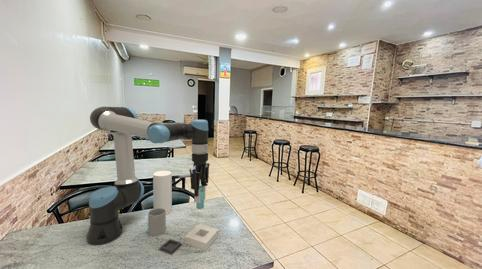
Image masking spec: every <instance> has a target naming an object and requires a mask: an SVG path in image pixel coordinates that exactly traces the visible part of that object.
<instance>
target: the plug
mask: <svg viewBox="0 0 482 269" xmlns="http://www.w3.org/2000/svg"><path fill="white" fill-rule="evenodd" d="M199 189H200V203H197V202H195V203H196V205H195V207H196V209H197V210H202V209H205V200H204V187H203V186H200V185H199Z"/></svg>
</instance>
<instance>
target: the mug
mask: <svg viewBox="0 0 482 269" xmlns="http://www.w3.org/2000/svg"><path fill="white" fill-rule="evenodd" d="M166 217H167V215H166V211H165V209H162V208H156V209H154V208H153V209H151V210H149V211H148V214H147V219H148V220H147V223H148V225H147V226H148V228H147V230H148V232H147V233H148V234H149V235H150V236H159V235H162V234H164V233H165V232H166V230H167V222H166V221H167V220H166Z"/></svg>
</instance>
